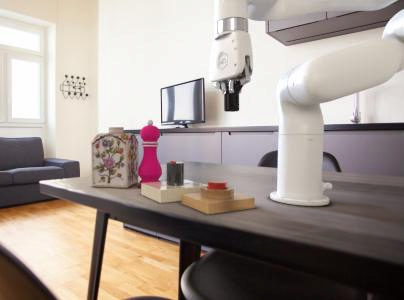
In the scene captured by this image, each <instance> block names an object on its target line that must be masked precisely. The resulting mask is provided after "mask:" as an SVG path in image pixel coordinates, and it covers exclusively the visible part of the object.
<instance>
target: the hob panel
mask: <svg viewBox="0 0 404 300" xmlns="http://www.w3.org/2000/svg"><path fill="white" fill-rule="evenodd" d="M206 185H207V184H205V183H201V182H197V181H194V180H189V179H184V185H179V186H173V185H167V180H166V181H160V182H150V183H141V187H140V189H141V191H140V194H141V196H144V197H147V198H149V199H151V200H153V201H156V202H157V203H159V204H163V203H164V204H165V203H173V202H182V194H188V193H199V192H201V187H202V186H206Z"/></svg>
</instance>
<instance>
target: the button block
mask: <svg viewBox="0 0 404 300" xmlns="http://www.w3.org/2000/svg"><path fill="white" fill-rule="evenodd" d="M181 204H182V205H184V206H187V207H189V208H191V209H194V210H197V211H199V212H201V213H204V214H206V215H213V214H219V213H227V212H234V211H241V210H242V211H243V210H250V209H255V197H253V196H249V195H246V194H242V193H237V192H235V188H234V187H232V186H229V185H227V189H224V190H215V189H208V184H206V186H202V187H201V192H199V193H188V194H182V201H181Z"/></svg>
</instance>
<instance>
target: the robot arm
mask: <svg viewBox="0 0 404 300" xmlns="http://www.w3.org/2000/svg"><path fill="white" fill-rule="evenodd" d="M397 1H398V0H214V40H213V42H212V44H211V45H212V46H211V53H210V61H209V62H210V63H209V80H210V82H211V83H214V89H216V90H220V91H221V94H222V95H223V104H224V105H223V110H224V112H228V113H229V112H230V113H232V112H233V113H235V112H239V111H240V94H241V93H242V89H243V87H244V85H247V84H248V83H250V82H251V80H252V79H251V77H252V75H253V73H254V71H253V70H254V56H253V55H254V53H253V46H252V40H251V35H250V33H249V20H251V21H254V22H255V21H256V22H279V21H287V20H291V19H297V18H302V17H306V16H311V15H315V14H318V13H319V14H320V13H324V12H326V13H327V12H369V11H370V12H373V11H378V10H383V9H384V8H387V7H389V6H390V5H392V4H394V3H395V2H397ZM401 71H404V8H402V9H401V10H399V11H398V12H396V14H394V15H393V16H392V17H391V18H390V19H389V20H388V22H387V23H386V25H385V27H384V29H383V32H382V35H381V37H372V38H367V39H364V40H361V41H358V42H355V43H351V44H349V45H346V46H343V47H341V48H337V49H334V50H332V51H329V52H324V53H323V54H319V55H317V56H315V57H312V58H310V59H308V60H306V61H304V62H302V63H299V64H298V65H296V66H294V67H292V68H290V69H288V70H287V71H286V72H285V73H284V74H282V76H281V77H280V78H279V80H278V82H277V85H276V90H275V96H276V97H275V99H276V105H277V111H278V113H277V116H278V137H277V138H278V139H277V175H276V182H277V183H276V191H272V192H270V193H269V198H270V199H271V200H272V201H275V202H278V203H281V204H288V205H292V206H303V207H304V206H305V207H320V206H327V205H329V204H330V198H329V196H327V195H325V194H324V192H327V191H332V189H333V184H332V183H331V182H324V181H323V167H324V165H323V164H324V163H323V162H324V136H325V135H324V134H325V121H324V115H323V111H322V108H321V104H324V103H330V102H332V101H335V100H340V99H343V98H345V97H348V96H351V95H354V94H358V93H360V92H363V91H366V90H369V89H373V88H376V87H379V86H381V85H383V84H385V83H387V82H388V81H390V80H391V79H393V77H394V76H395V75H396V74H397V73H400V72H401Z"/></svg>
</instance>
